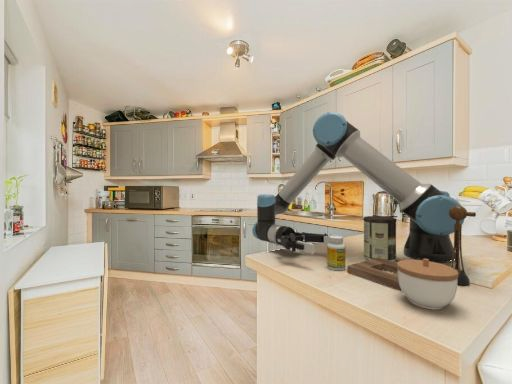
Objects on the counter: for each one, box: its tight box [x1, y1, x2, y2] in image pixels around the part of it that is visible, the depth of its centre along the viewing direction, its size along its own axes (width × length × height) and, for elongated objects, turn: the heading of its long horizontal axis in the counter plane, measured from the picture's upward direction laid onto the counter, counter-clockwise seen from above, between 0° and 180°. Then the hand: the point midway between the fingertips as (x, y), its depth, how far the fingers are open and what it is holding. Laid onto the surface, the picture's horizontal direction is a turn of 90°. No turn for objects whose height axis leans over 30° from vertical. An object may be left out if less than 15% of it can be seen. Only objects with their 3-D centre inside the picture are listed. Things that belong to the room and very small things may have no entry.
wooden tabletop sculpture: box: [449, 205, 477, 287], centre depth 62 cm, size 6×5×20 cm
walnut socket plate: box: [346, 258, 401, 291], centre depth 68 cm, size 15×15×2 cm
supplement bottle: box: [326, 235, 346, 271], centre depth 75 cm, size 5×5×10 cm
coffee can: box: [362, 216, 397, 262], centre depth 85 cm, size 10×10×14 cm
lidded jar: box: [397, 259, 458, 311], centre depth 52 cm, size 11×11×9 cm
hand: (327, 245), depth 77 cm, fingers open, 13 cm apart
